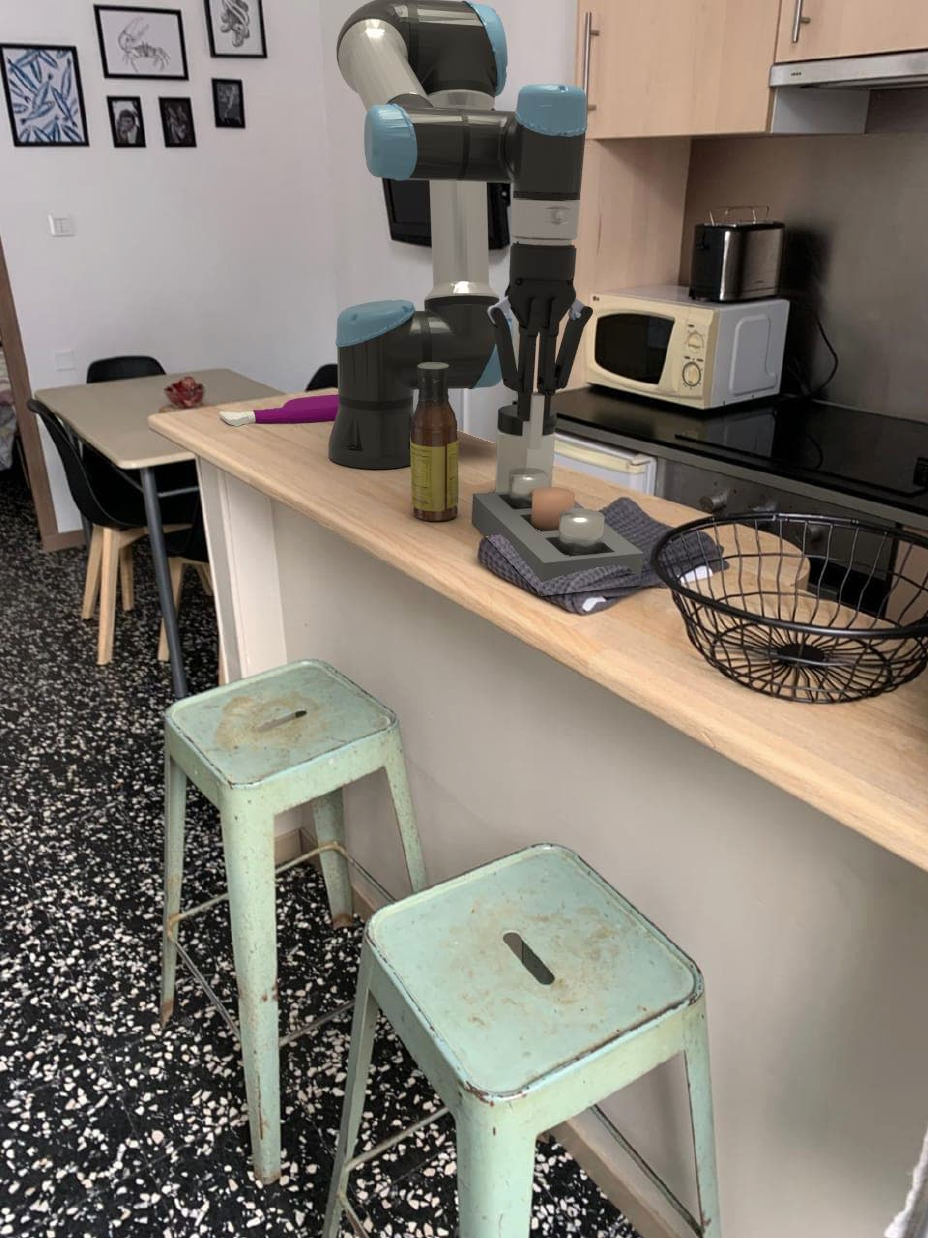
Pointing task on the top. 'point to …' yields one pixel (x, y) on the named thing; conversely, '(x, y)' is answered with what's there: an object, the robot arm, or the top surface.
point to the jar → (521, 447)
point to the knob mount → (547, 540)
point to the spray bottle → (289, 412)
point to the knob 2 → (580, 532)
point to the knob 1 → (525, 486)
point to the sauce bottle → (434, 447)
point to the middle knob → (550, 507)
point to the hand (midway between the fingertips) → (531, 446)
